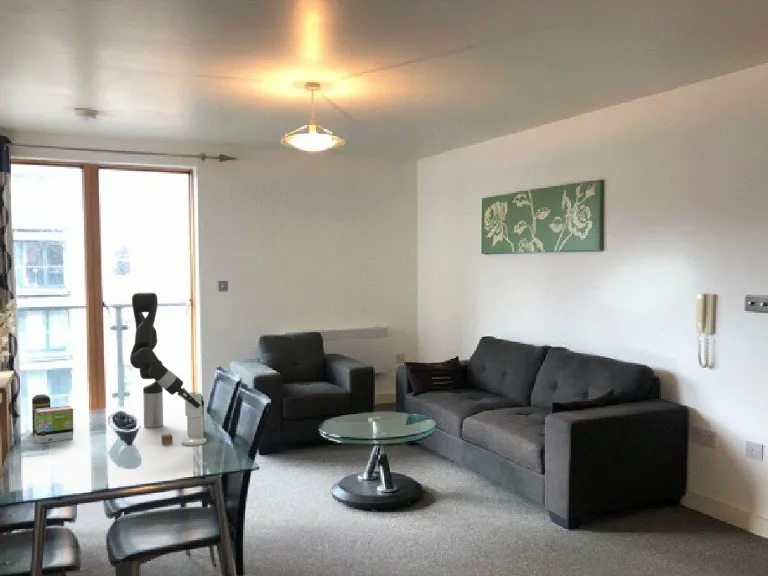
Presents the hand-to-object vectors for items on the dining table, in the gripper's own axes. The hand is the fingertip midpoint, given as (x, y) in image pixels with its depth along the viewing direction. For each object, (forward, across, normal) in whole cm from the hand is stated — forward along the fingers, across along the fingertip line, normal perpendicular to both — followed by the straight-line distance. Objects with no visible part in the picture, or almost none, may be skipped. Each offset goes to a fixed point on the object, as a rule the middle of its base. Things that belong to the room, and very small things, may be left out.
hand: (197, 405), depth 298 cm
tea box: (-29, +39, +53) cm, 72 cm away
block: (+3, +5, +21) cm, 22 cm away
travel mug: (+14, +19, +10) cm, 26 cm away
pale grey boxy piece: (+2, 0, +4) cm, 5 cm away
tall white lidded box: (+13, +11, +11) cm, 20 cm away
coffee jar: (-32, +56, +56) cm, 86 cm away
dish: (+11, 0, +13) cm, 17 cm away
